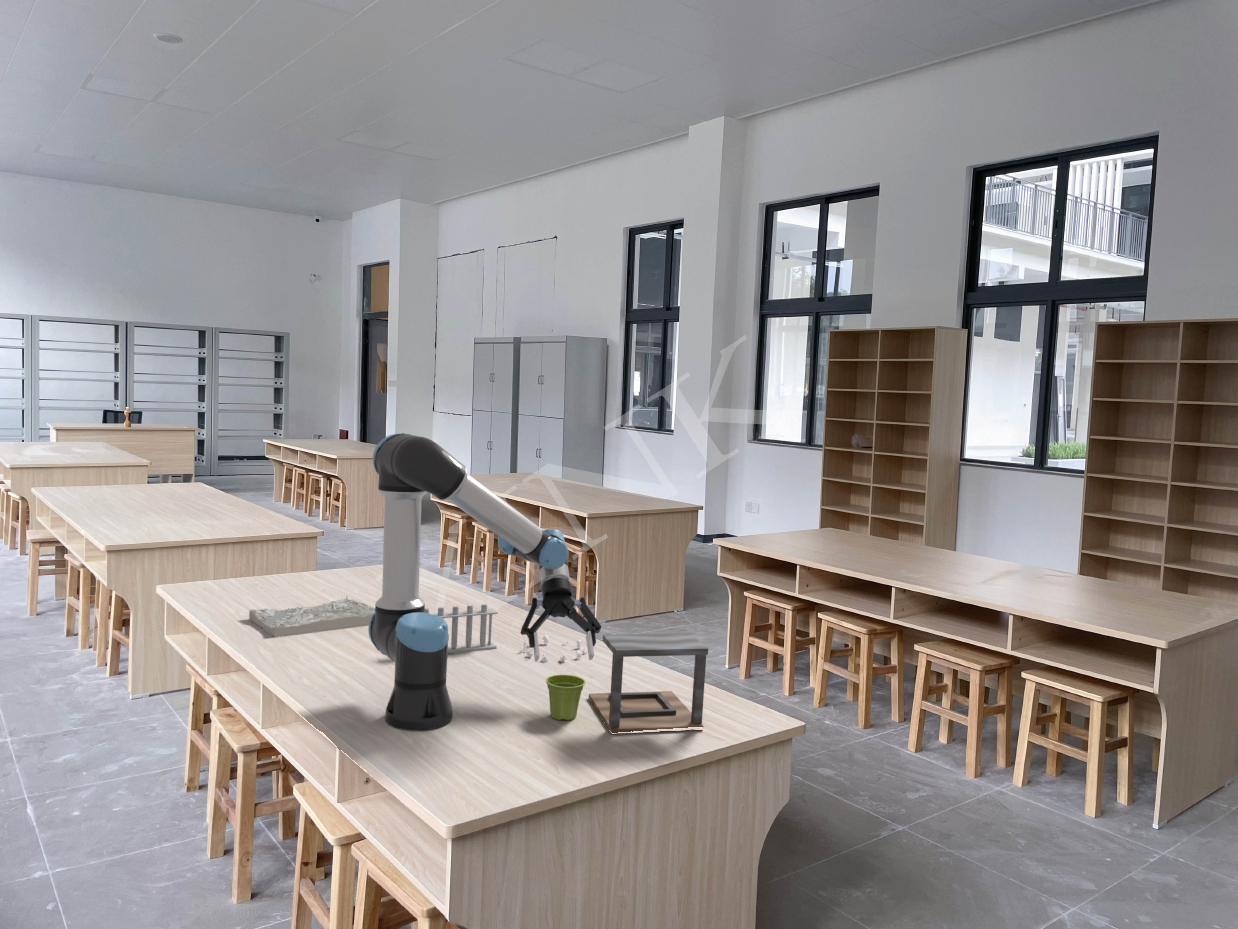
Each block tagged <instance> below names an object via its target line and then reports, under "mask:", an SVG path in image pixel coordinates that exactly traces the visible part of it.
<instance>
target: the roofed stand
mask: <svg viewBox="0 0 1238 929" xmlns="http://www.w3.org/2000/svg"><path fill="white" fill-rule="evenodd" d="M602 641H603V642H602V643H604V644H605V646H606V647H607V649H609V650H610V651H611V653H612V661H611V678H610V679H611V680H610V692H605V693H604V692H601V693H599V692H598V693H588V701H590V703H591V705H592V706H593V708H594V710H595V711H596V710H597V711H596V712H597V714H598V713H599V714H598V716H599V717H600V716H601V717H600V718H602V719H603V720H602V719H601V720H602V722H603V721H604V722H605V723H604V722H603V723H604V725H605V724H606V725H607V726H606V725H605V726H606V728H607V727H608V728H609V730H610V731H611V732H612V733H618V732H631V731H632V732H633V731H643V730H657V729H673V728H688V727H703V728H704V724H703V712H704V697H705V696H704V694H705V682H706V681H705V679H706V668H707V667H706V666H707V665H706V664H707V656H708V655H709V648H708V646H706V645H705V644H704V643H702V642H701V641H700V640H698V638H696V637H695V636H693V634H691V633H688V632H687V633H686V632H685V633H683V632H682V633H681V632H680V633H628V634H627V633H626V634H624V633H621V634H619V633H618V634H615V633H614V634H602ZM665 656H667V657H671V656H673V657H675V656H694V668H693V682H692V683H693V684H692V699H691V710H690V709H689V708H688V707H687V706H686V705H685V704H684V703H683V701H682V700H680V699H679V697H678V696H677V695H676V694H675V693H674V692H673V691H672V690H666V691H665V690H663V691H660V690H659V691H638V692H637V691H633V692H632V691H629V692H622V690H623V689H622V688H623V686H622V685H623V669H624V657H628V658H629V657H631V658H632V657H665ZM608 728H607V729H608ZM609 730H608V731H609ZM610 731H609V732H610Z"/></svg>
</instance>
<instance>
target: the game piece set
mask: <svg viewBox="0 0 1238 929" xmlns="http://www.w3.org/2000/svg"><path fill="white" fill-rule="evenodd" d="M542 640H543V645H545V646H547V645H548V644H550V643H549V636H548V635H547V634H544V635H543V636H542ZM568 643H569V641H566V643H561V646H565V647H566V646H567V644H568ZM575 643H576V647H577V651H576V652H575V654H576V657H575V659H576V660H577V661H580V660H582V655H587V654H588V651H587V650H586V648H583V650H582V651H580V649H581V647H582V641H581V639H577V640H576V642H575ZM522 645H523V649H520V652H521V653H523V654H526V656H528V657H527V658H532V657H533V655H534V653H532V652H533V651H534V648H530V646H529V643H528V642H527V641H526V640H524V641H523V644H522ZM528 648H530V649H531V650H530V651H529V649H528ZM567 659H568V658H567V657H566V654H563V655H562V656H560V658H559V661H561V662H562V663H565V661H566V660H567ZM541 662H542V663H548V662H549V660H548V655H547V654H546V655H544V654H542V658H541Z"/></svg>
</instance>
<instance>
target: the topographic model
mask: <svg viewBox="0 0 1238 929" xmlns="http://www.w3.org/2000/svg"><path fill="white" fill-rule="evenodd" d="M248 612H249V613H248V616H249V617H248V619H250V620H249V621H251V620H252V621H253V622H254V623H253V622H252V621H251V622H252V623H253V624H255V623H256V624H257V625H256V624H255V625H256V626H258V625H259V626H260V627H259V626H258V627H259V628H261V627H262V628H263V629H262V628H261V629H262V630H264V631H265V632H266V631H267V633H268V632H269V633H270V634H269V633H268V634H269V635H271V636H272V635H273V636H272V637H273V638H282V637H281V636H283V637H288V636H289V635H290V636H297V635H304V634H312V633H319V632H328V631H334V630H343V629H351V628H359V627H365V626H369V622H370V619H371V617H372V615H374V613H375V607H373V606H371V605H368V604H366V603H364V602H361V601H359V600H357V599H353V598H348V596H347V595H346V598H344V599H338V600H331V602H328V603H325V602H324V603H323V604H321V605H311V606H305V607H303V606H302V607H300V606H296V607H291V608H287V609H279V610H277V609H276V608H275V609H274V608H271V609H268V608H260V609H259V608H258V609H250V610H248ZM279 636H280V637H279Z"/></svg>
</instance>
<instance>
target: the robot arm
mask: <svg viewBox="0 0 1238 929" xmlns="http://www.w3.org/2000/svg"><path fill="white" fill-rule="evenodd" d="M372 465H373V468H374V470H375V472H376V474H377V475H378V481H377V483H378V484H377V485H378V486H377V487H378V490H377V491H378V492H380V494H381V495H382V496H383V497H384V508H383V509H384V512H383V514H384V516H383V517H384V518H383V545H382V546H383V547H382V550H383V551H382V552H383V553H382V555H383V556H382V585H381V588H382V589H381V590H382V591H381V592H382V594H381V597H380V598H378V599H377V600H376V601H375V605H374V606H375V607H374V608H375V613H374V615H372V617H371V619H370V622H369V625H368V636H369V640H370V642H371V643H372V644H373V646H374V647H375V649H376V650H377V651H378V652H380V653H381V654H382V655H384V656H386V657H387V658H389V659H390V660H391V661H393V662H394V684H393V689H392V691H391V695H390V697H389V699H388V702H387V705H386V708H385V715H384V716H385V717H384V720H385V723H386V724H388V725H389V726H391V727H393V728H396V729H400V730H407V731H424V730H425V731H426V730H434V729H439V728H442V727H443V726H446V725H448V724H449V723H450V722H451V721H452V720H453V712H454V710H453V705H452V702H451V698H450V695H449V691H448V686H447V674H448V673H447V671H448V647H449V639H450V638H449V637H450V634H449V626H448V623H447V621H446V620H445V618H444V619H443V618H441V617H439V616H437V615H430V614H431V613H430V612H429V613H425V608H426V607H425V606H426V602H425V600H424V599H423V598H422V597H421V596H420V595H419V594H420V562H421V560H420V558H421V557H420V556H421V534H422V533H421V532H422V530H421V528H422V526H421V524H422V499H423V497H424V496H425V495H426V494H427V493H429V494H430V495H433V496H434V497H436V498H437V499H438V500H440V501H445V500H446V501H449V502H450V503H451V504H453V505H454V506H455V507H457V508H459V509H460V510H461V511H463V513H465V514H467V515H468V516H470V517H472V518H473V519H474V520H476V522H479V523H480V525H482V526H484V527H485V528H487V529H488V530H490V532H493V534H495V535H497V536H498V539H497V547H498V549H499V551H500V552H501V553H504V554H507V556H513V557H516V558H519V559H521V560H525V561H527V562H531V563H533V564H536V565H538V566H539V574H540V583H541V592H542V593H541V594H542V599H540V600H539V599H538V598H536V597H533V598H532V599H531V603H530V609H529V610H528V613H527V616H526V617H525V620H524V622H523V624H522V626H521V629H520V635H522V636H526V637H527V639H528V644H529V646H530V649H533V655H534V662H539V659H540V656H541V655H540V648H539V647H540V645H539V638H538V630H539V629H540V627H542V625H543V624H544V623H545V622H546V620H548V619H549V617H552V618H558V617H560V618H566V617H567V618H569V620H572V621H573V622H574V623H575V624H576V625H578V626H579V628H581V629H582V630H583V631H584V632H585V633H586V634H585V640H586V641H585V642H586V648H587V654H588V660H589V661H592V660H594V659H593V658H594V656H595V651H594V647H595V646H596V643H597V638H596V634H599V633H600V631H601V629H602V625H601V623H600V622H599V621H598V619H597V618H596V616H595V615H594V614H593V612H592V611H591V609H590V607H588V605H587V603H586V602H587V601H586V598H585V597H580V599H574V598H573V593H572V592H573V591H572V585H571V578H570V577H571V576H570V571H569V570H570V569H569V564H568V557H569V548H568V545H567V544H566V541H565V537H564V534H563V533H562V532H561V531H560V530H559V529H555V528H553V529H550V528H548V529H542V528H541V527H539V526H538V525H537V524H535V523H534V522H532V520H530V519H528V518H527V517H526V516H525V515H523V513H521V512H519V511H518V510H517V509H515V508H514V507H513V506H512V505H510V504H509V503H507V502H506V501H505V500H504V499H502V498H501V497H499V496H498V495H497V494H495V493H494V492H493V491H491V489H489V488H488V487H486V486H485V485H483V484H482V483H481V482H479V481H478V480H477V479H476V478H474V477H473V476H471V475H470V474H469V473H468V469H467V466H466V465H464V464H463V463H461V462H460V461H459V460H458V459H456V458H455V457H454V456H453V455H451V454H450V453H449V451H447V450H445V449H444V448H443V447H441V446H440V445H439V443H437V442H435V441H433V440H432V439H431V438H427V437H424V436H418V435H414V434H409V433H403V432H402V433H393V434H390V435H386V437H384V438H383V439H381V440H380V441H379V442H378V443H377V445H376V447H375V448H374V451H373V454H372ZM540 606H541V607H542V608H543V610H544V611H543V612H542V614H540V616H539V617H538V619H536V621H535V622H534V623H533V624H532V626H531V627H529V626H530V624H531V621H532V619H533V618H534V616H535V614H536V611H537V610H538V609H540ZM574 606H575V607H577V609H579V610H580V613H581V614H580V613H579V612H578V611H577V609H576V608H575V607H574ZM582 615H583V616H582Z"/></svg>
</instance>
